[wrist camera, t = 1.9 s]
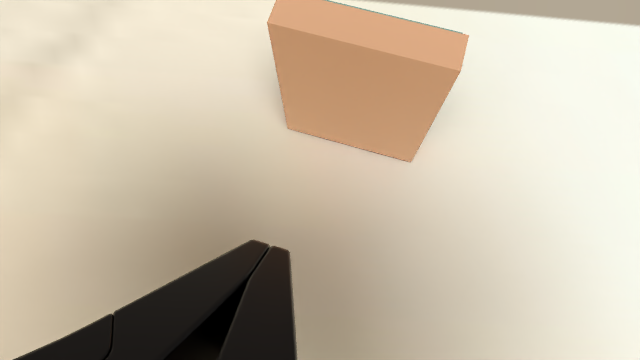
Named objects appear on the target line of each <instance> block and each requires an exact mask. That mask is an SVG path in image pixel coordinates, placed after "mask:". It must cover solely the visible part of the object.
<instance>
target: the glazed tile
mask: <svg viewBox="0 0 640 360" xmlns="http://www.w3.org/2000/svg"><path fill="white" fill-rule="evenodd" d="M267 25H268V30H269V35H270V40H271V45H272V50H273V55H274V60H275V65H276V71H277V76H278V81H279V86H280V91H281V96H282V101H283V106H284V111H285V117H286V122H287V127H288V129H292V130H296V131H299V132H303V133H306V134H310V135H314V136H317V137H321V138H325V139H328V140H332V141H336V142H339V143H343V144H346V145H350V146H354V147H357V148H361V149H365V150H368V151H372V152H375V153H379V154H383V155H386V156H390V157H394V158H397V159H401V160H404V161H408V162H411V161H412V160H413V158H414V156H415V154H416V152H417V150H418V149H419V147H420V145H421V143H422V141H423V139H424V137H425V136H426V134H427V132H428V130H429V128H430V126H431V125H432V123H433V121H434V119H435V117H436V115H437V114H438V112H439V110H440V108H441V106H442V104H443V103H444V101H445V99H446V97H447V95H448V93H449V92H450V90H451V88H452V86H453V84H454V82H455V81H456V79H457V77H458V75H459V73H460V71H461V67H462V63H463V59H464V55H465V50H466V46H467V42H468V37H469V35H465V34H463V33H461V32H457V31H453V30H448V29H444V28H440V27H436V26H432V25H428V24H424V23H420V22H415V21H411V20H407V19H403V18H399V17H395V16H391V15H386V14H382V13H378V12H374V11H370V10H366V9H362V8H358V7H353V6H349V5H345V4H341V3H337V2H333V1H329V0H276V2H275V4H274V7H273V9H272V12H271V14H270V17H269V19H268V22H267Z"/></svg>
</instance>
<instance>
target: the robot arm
mask: <svg viewBox="0 0 640 360" xmlns="http://www.w3.org/2000/svg"><path fill="white" fill-rule="evenodd" d="M13 360H297V346H296V332H295V317H294V303H293V288H292V274H291V259H290V252H289V251H288V250H286V249H283V248H279V247H276V246H271V247H270V245H269V244H266V243H263V242H260V241H257V240H250V241H248V242H246V243H244V244H242V245H240V246H238V247H237V248H235V249H233V250H231V251H229V252H227V253H225V254H223V255H221V256H219V257H217V258H216V259H214V260H212V261H210V262H208V263H206V264H204V265H202V266H200V267H198V268H196V269H195V270H193V271H191V272H189V273H187V274H185V275H183V276H181V277H179V278H177V279H175V280H174V281H172V282H170V283H168V284H166V285H164V286H162V287H160V288H158V289H156V290H154V291H153V292H151V293H149V294H147V295H145V296H143V297H141V298H139V299H137V300H135V301H134V302H132V303H130V304H128V305H126V306H124V307H122V308H120V309H118V310H116V311H115V312H114V313H113V315H112V314H108V315H106V316H105V317H103V318H101V319H99V320H97V321H95V322H93V323H91V324H89V325H87V326H85V327H83V328H81V329H79V330H77V331H75V332H73V333H71V334H69V335H67V336H65V337H63V338H61V339H59V340H56V341H54V342H52V343H50V344H47V345H45V346H43V347H41V348H38V349H36V350H34V351H32V352H30V353H27V354H25V355H23V356H20V357H18V358H16V359H13Z"/></svg>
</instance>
